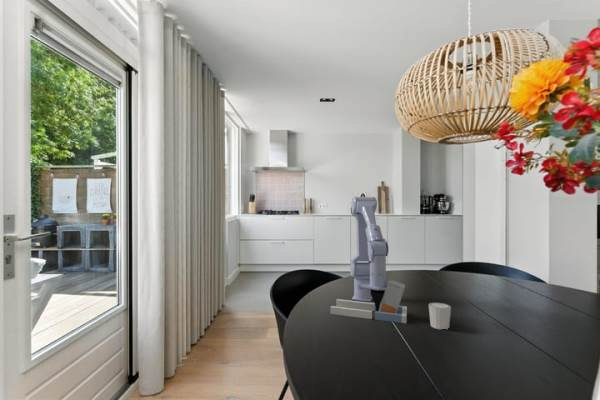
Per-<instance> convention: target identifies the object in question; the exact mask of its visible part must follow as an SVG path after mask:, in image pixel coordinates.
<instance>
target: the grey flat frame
mask: <svg viewBox="0 0 600 400" xmlns="http://www.w3.org/2000/svg"><path fill="white" fill-rule="evenodd" d="M335 301H336V302H335V303H336V305H335V306H334V305H331V306H330V307H329V308H330V309H329V311H330V315H334V316H344V317H350V318H351V317H352V318H360V319H368V320H373V312H374V320H375V321H383V322H391V323H398V324H399V323H400V324H407V318H408V317H407V316H408V308H407V306H404V305H399V307H398V310H397V313H387V312H379V311H376V307H375V303H374V302H370V301H360V300H349V299H341V298H337V299H336V300H335ZM380 305H381V303H380ZM379 308H380V307H379Z"/></svg>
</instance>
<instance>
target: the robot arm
mask: <svg viewBox="0 0 600 400" xmlns="http://www.w3.org/2000/svg"><path fill="white" fill-rule="evenodd" d="M350 204H351V215H352V216H353V217H355V221H356V222H355V224H356V227H355V228H356V255H355V256H353V257H352V258H351V260H350V267H349V273H350V275H351V277H352V278H353V296H352V297H351V301H360V302H372V300H373V303H375V311H379V307H380V304H381V302H382V299H383V296H384V293H385V290H387V289H386V286H387V282H386V281H387V280H386V279H387V270H386V269H387V257H388V255H389V244H388V241H387V240H386V238H384V236H383V233H382V230H381V227H380V225H378V224H377V221H376V215H375V213H376V210H377V208H378V201H377V198H376V197H375V196H353V197H352V198H351V203H350Z"/></svg>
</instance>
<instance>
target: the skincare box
mask: <svg viewBox="0 0 600 400" xmlns="http://www.w3.org/2000/svg"><path fill="white" fill-rule="evenodd" d="M386 285H387V286H386V289H387V290H385V293H384V295H383V297H382V300H381V303H380V304H381V305H380V308H379V312H387V313H397V310H398V307H399V306H400V303H401V301H402V297H403V294H404V291H405V290H406V289H405V288H406V284H405V283H402V282H399V281H396V280H393V279H391V278H389V279H388V281H387V282H386Z"/></svg>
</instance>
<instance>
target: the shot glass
mask: <svg viewBox="0 0 600 400" xmlns="http://www.w3.org/2000/svg"><path fill="white" fill-rule="evenodd" d="M451 311H452V306H451V305H449V304H447V303H443V302H437V301H436V302H429V304H428V312H429V322H430V323H429V324H430V327H431V328H433V329H437V330H441V329H446V330H449V329H450V321H451ZM448 328H449V329H448Z"/></svg>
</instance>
